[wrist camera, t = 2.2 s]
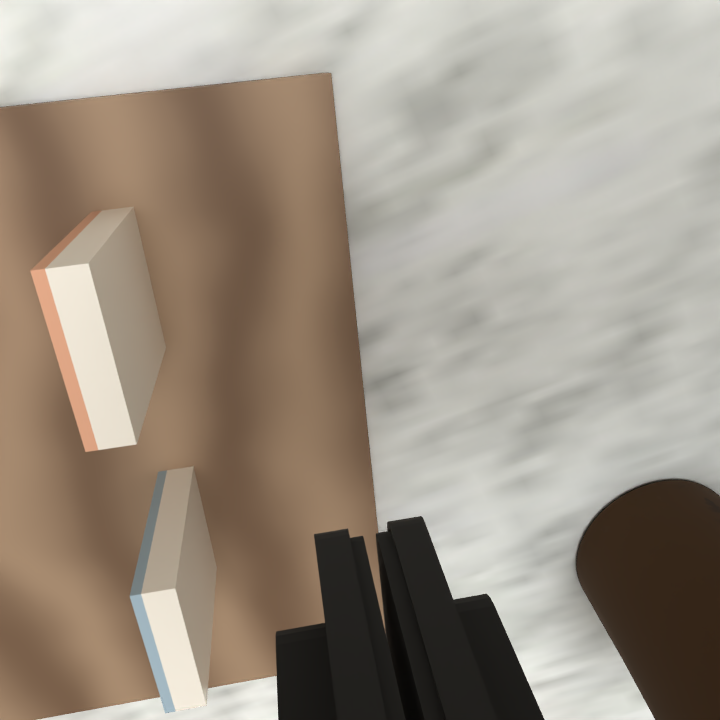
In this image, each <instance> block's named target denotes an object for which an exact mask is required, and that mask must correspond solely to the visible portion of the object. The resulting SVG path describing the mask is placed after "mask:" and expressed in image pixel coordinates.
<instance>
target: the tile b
mask: <svg viewBox="0 0 720 720" xmlns="http://www.w3.org/2000/svg"><path fill="white" fill-rule="evenodd" d="M216 571H217V566H216V562H215V558H214V553H213V549H212V545H211V540H210V536H209V532H208V527H207V523H206V519H205V514H204V510H203V506H202V501H201V497H200V493H199V488H198V484H197V480H196V475H195V471H194V467H193V466H192V467H186V468H179V469H173V470H166V471H160V472H158V475H157V479H156V484H155V488H154V492H153V497H152V501H151V505H150V510H149V514H148V518H147V523H146V527H145V531H144V536H143V540H142V544H141V549H140V553H139V557H138V562H137V566H136V570H135V575H134V579H133V583H132V588H131V592H130V599H131V602H132V606H133V609H134V612H135V616H136V619H137V622H138V625H139V629H140V632H141V635H142V638H143V642H144V645H145V648H146V652H147V655H148V658H149V661H150V665H151V668H152V671H153V674H154V678H155V681H156V684H157V688H158V691H159V694H160V697H161V701H162V704H163V707H164V710H165V713H169V712H175V711H180V710H186V709H191V708H196V707H202V706H207V693H208V680H209V666H210V653H211V639H212V626H213V612H214V599H215V585H216Z"/></svg>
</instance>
